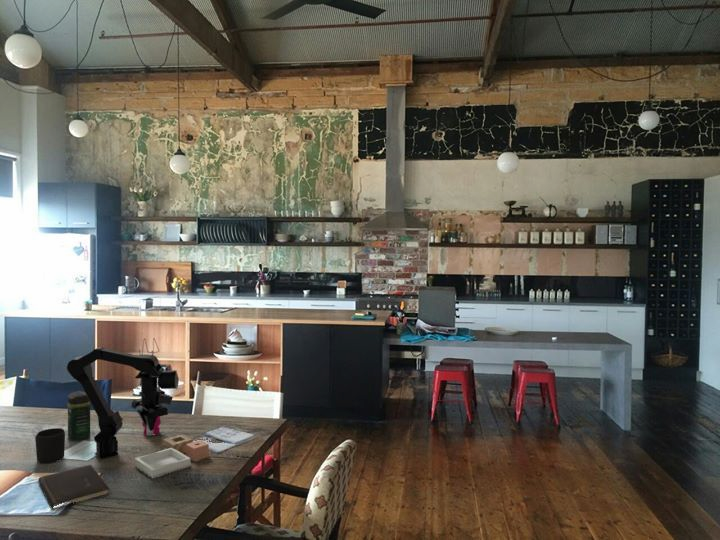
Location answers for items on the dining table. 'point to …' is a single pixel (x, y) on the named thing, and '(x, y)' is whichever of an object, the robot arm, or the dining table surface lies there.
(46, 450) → the pen holder
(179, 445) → the oak block
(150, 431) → the cylinder
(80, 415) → the coffee jar
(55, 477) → the hardcover book
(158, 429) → the pepper mill
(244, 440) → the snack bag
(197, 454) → the rust block
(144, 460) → the tray
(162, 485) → the dining table surface
